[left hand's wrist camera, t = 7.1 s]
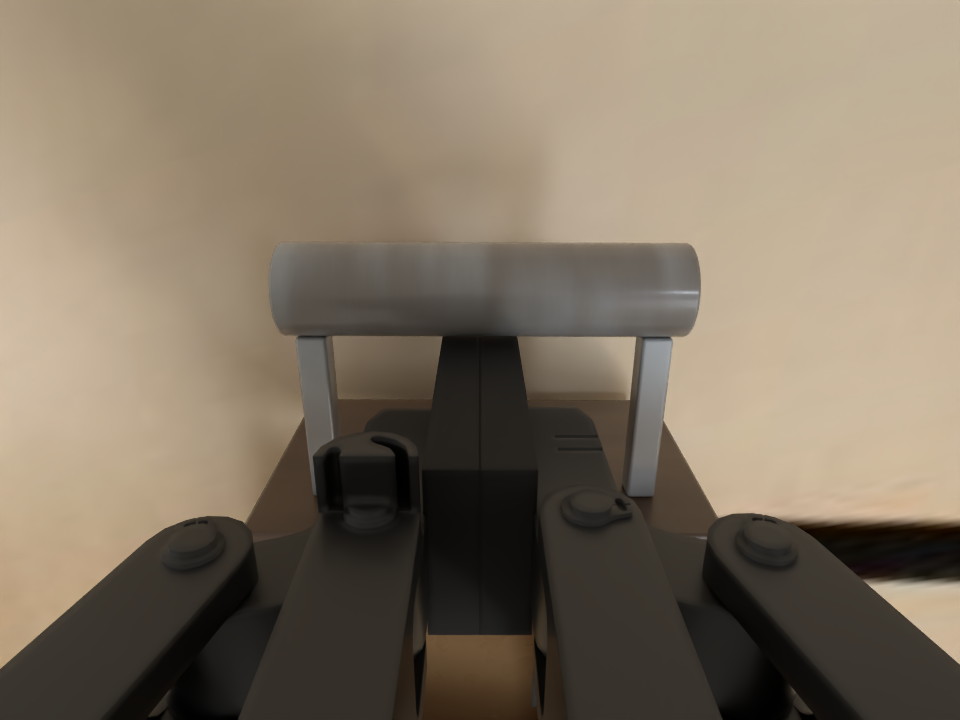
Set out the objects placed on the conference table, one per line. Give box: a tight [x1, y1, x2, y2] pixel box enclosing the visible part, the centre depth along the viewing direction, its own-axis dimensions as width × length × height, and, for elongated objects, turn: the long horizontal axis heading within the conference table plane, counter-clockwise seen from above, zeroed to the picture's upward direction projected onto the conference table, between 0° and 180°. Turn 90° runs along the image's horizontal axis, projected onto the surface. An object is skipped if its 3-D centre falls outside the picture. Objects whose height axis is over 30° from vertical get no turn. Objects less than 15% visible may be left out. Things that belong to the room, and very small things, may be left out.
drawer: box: [245, 242, 718, 720], centre depth 18 cm, size 25×10×6 cm, turn 0°
